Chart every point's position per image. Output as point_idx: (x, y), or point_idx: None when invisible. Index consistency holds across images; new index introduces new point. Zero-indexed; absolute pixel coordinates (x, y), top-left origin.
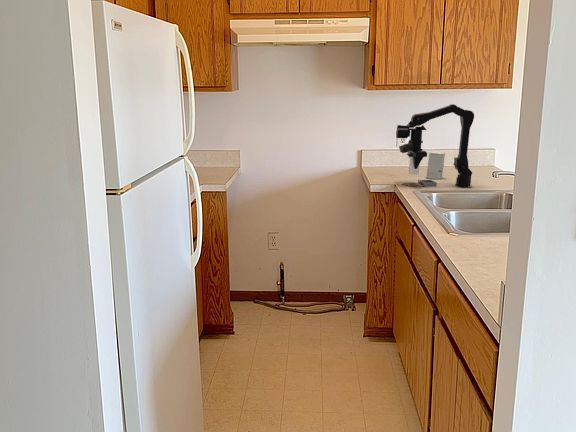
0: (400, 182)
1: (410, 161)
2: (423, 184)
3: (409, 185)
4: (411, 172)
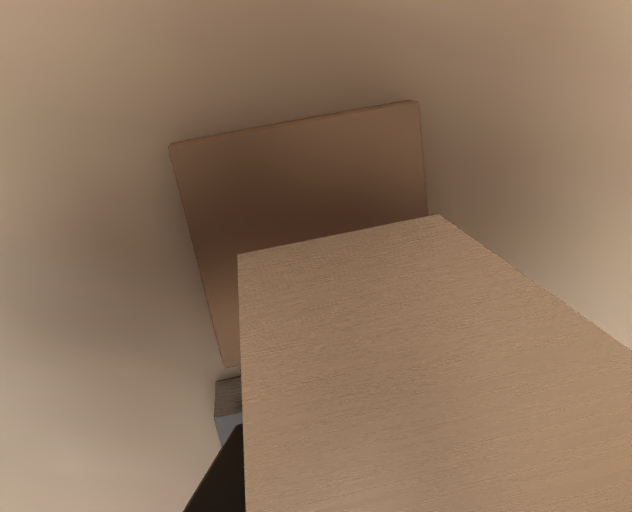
0: (551, 56)
1: (549, 447)
2: (221, 398)
3: (173, 157)
4: (247, 272)
